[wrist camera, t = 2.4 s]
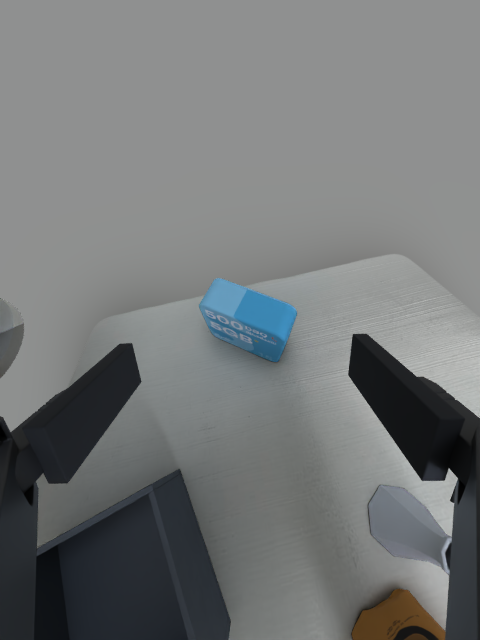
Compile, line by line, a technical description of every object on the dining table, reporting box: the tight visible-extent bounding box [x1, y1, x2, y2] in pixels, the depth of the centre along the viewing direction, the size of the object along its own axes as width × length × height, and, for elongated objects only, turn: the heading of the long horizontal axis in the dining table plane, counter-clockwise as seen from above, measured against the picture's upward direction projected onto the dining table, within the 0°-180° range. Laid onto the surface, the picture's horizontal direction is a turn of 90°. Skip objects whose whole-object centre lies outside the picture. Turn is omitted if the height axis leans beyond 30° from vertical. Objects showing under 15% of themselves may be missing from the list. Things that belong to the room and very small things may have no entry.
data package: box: [199, 278, 297, 362], centre depth 34 cm, size 12×4×12 cm, turn 64°
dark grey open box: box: [34, 469, 231, 640], centre depth 24 cm, size 16×17×10 cm
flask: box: [368, 485, 452, 575], centre depth 24 cm, size 7×7×10 cm
